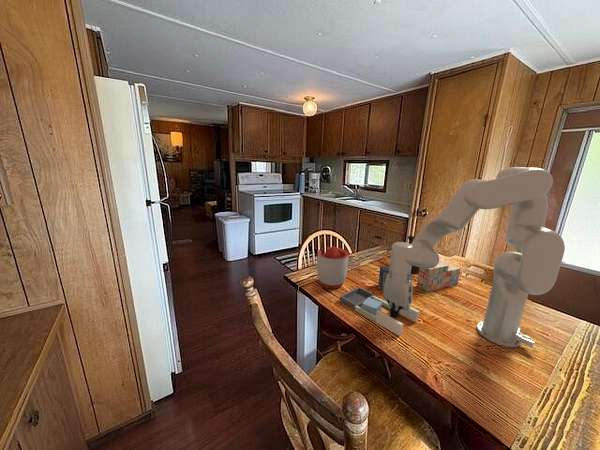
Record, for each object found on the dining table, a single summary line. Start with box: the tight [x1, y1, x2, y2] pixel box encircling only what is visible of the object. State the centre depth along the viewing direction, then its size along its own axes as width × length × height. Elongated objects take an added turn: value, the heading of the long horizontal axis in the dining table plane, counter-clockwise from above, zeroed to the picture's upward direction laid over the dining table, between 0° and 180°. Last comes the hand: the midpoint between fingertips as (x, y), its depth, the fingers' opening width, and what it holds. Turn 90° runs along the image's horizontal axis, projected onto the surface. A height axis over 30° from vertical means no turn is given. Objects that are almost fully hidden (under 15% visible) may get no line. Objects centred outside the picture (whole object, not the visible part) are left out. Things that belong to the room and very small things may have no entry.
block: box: [361, 297, 383, 316], centre depth 101 cm, size 6×6×4 cm
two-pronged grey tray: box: [339, 286, 420, 337], centre depth 101 cm, size 29×14×4 cm, turn 39°
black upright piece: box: [407, 235, 420, 275], centre depth 142 cm, size 16×11×18 cm
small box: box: [378, 265, 390, 291], centre depth 119 cm, size 11×6×10 cm, turn 84°
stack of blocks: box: [416, 261, 461, 292], centre depth 122 cm, size 21×6×12 cm, turn 111°
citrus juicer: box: [316, 246, 350, 290], centre depth 122 cm, size 16×17×20 cm
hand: (393, 317), depth 96 cm, fingers closed
